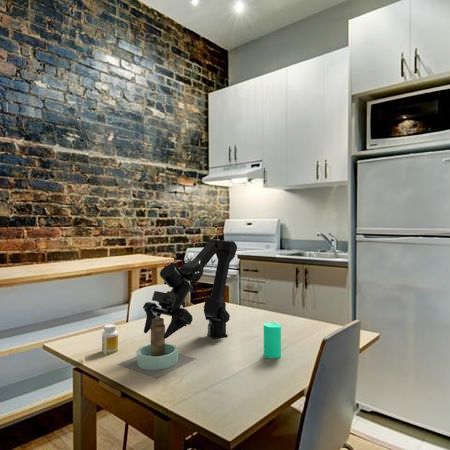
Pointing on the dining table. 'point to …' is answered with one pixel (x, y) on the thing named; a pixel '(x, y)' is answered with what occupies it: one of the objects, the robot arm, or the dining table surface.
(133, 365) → the mat
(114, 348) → the supplement bottle
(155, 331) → the mill
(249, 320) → the dining table surface
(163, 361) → the bowl
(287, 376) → the dining table surface
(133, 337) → the dining table surface
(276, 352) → the candle
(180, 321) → the robot arm
